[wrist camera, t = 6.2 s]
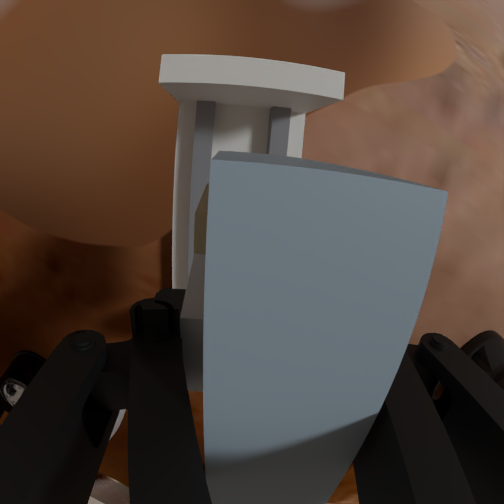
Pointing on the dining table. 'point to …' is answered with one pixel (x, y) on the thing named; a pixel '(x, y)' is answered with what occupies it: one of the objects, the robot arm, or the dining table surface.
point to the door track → (234, 123)
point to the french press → (17, 378)
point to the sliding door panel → (303, 316)
